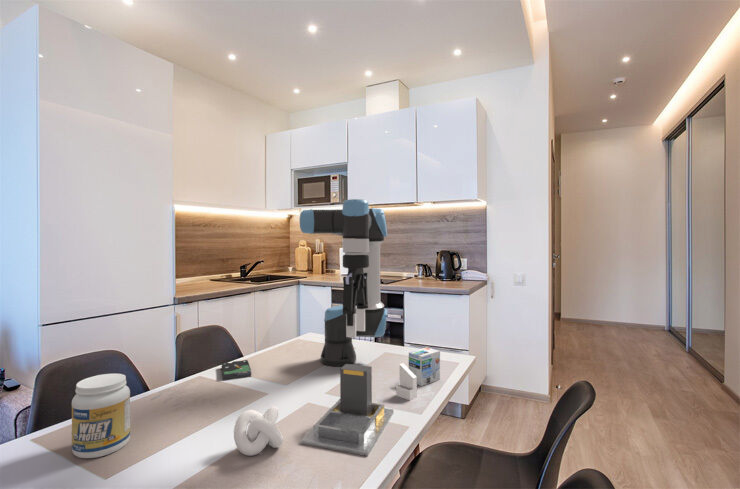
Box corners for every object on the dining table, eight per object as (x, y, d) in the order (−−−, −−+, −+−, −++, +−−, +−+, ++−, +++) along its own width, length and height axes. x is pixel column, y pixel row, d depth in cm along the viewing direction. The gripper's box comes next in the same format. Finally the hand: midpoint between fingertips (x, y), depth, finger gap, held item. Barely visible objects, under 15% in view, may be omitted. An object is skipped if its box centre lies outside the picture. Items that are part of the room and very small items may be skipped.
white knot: (246, 434, 103) (245, 401, 103) (290, 434, 103) (290, 401, 103) (229, 458, 92) (229, 421, 92) (279, 459, 91) (279, 421, 91)
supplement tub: (64, 465, 89) (63, 393, 89) (80, 440, 100) (79, 375, 100) (126, 453, 94) (125, 385, 94) (134, 430, 105) (133, 369, 105)
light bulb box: (421, 386, 136) (421, 356, 135) (407, 381, 141) (407, 352, 140) (440, 379, 143) (440, 350, 142) (426, 374, 148) (426, 346, 147)
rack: (338, 404, 121) (338, 393, 121) (393, 412, 115) (393, 401, 115) (301, 443, 98) (301, 430, 98) (367, 456, 93) (367, 441, 93)
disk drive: (221, 369, 155) (222, 381, 142) (220, 362, 155) (222, 374, 142) (247, 366, 159) (252, 377, 146) (247, 359, 159) (251, 370, 146)
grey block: (346, 410, 114) (346, 363, 114) (371, 414, 112) (371, 366, 112) (340, 417, 110) (340, 368, 110) (366, 421, 107) (366, 371, 107)
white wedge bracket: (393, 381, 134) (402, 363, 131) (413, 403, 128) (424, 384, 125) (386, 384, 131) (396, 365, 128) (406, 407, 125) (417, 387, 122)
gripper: (355, 252, 121) (355, 325, 121) (329, 255, 102) (329, 341, 102) (378, 252, 118) (378, 327, 119) (355, 255, 99) (356, 344, 100)
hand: (356, 333), depth 110 cm, fingers open, 7 cm apart
